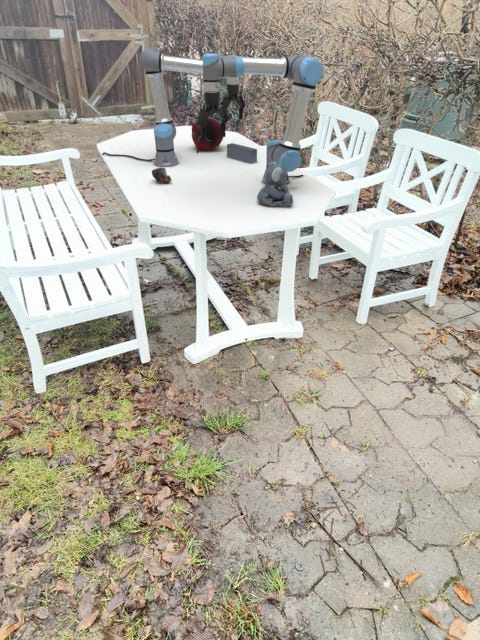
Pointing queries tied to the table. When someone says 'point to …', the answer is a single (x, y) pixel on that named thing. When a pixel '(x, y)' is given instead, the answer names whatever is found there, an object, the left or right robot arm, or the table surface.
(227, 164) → the table surface
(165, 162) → the left robot arm
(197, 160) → the table surface
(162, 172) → the rock
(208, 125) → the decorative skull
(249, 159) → the bar
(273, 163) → the koala plush
